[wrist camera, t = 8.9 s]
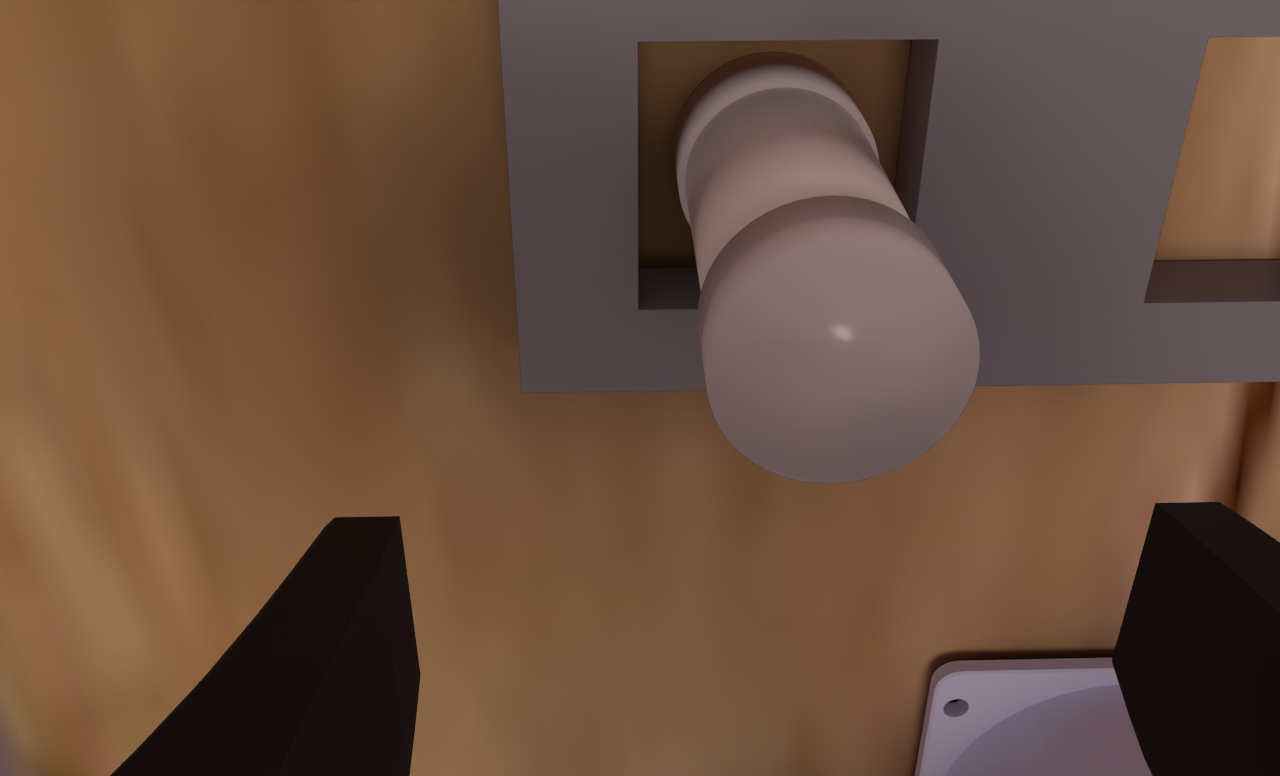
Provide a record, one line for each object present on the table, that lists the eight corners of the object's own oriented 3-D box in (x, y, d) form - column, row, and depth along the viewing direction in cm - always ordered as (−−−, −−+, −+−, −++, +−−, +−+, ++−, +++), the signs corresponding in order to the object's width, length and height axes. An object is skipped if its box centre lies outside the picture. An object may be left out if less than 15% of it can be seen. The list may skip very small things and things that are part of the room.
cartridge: (853, 231, 20) (959, 481, 14) (672, 234, 20) (702, 485, 14) (871, 51, 18) (999, 246, 13) (674, 52, 18) (709, 250, 12)
